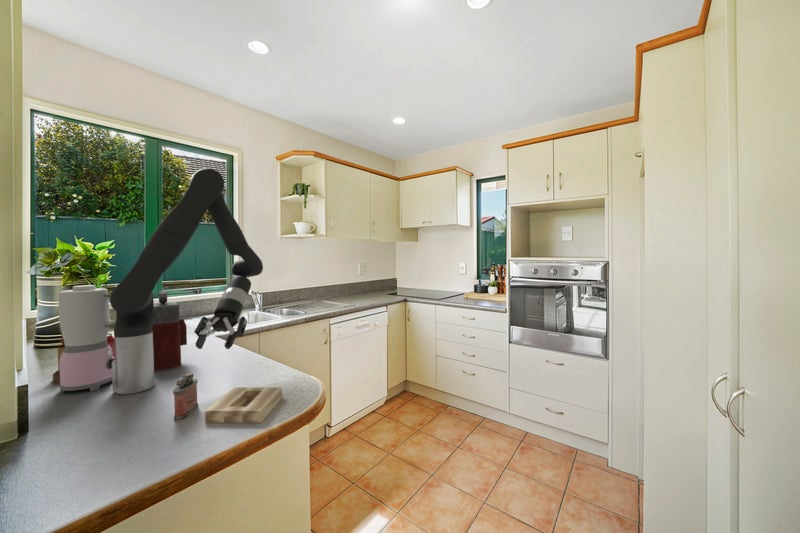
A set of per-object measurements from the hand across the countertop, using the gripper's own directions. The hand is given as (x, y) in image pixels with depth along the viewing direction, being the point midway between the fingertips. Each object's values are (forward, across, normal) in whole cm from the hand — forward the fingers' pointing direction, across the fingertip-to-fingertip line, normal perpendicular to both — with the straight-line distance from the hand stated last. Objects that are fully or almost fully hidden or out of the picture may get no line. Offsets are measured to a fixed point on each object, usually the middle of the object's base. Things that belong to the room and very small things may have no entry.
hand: (212, 347), depth 97 cm
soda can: (-6, -54, +25) cm, 60 cm away
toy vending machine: (-7, -31, +27) cm, 41 cm away
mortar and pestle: (+2, -56, +18) cm, 59 cm away
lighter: (+18, 0, +1) cm, 19 cm away
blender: (+6, -41, +13) cm, 44 cm away
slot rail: (+17, +15, +2) cm, 23 cm away
